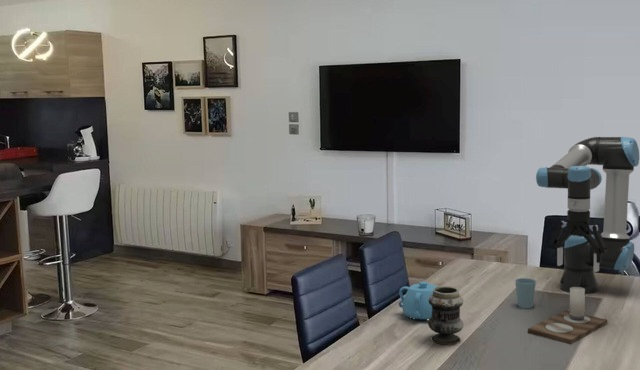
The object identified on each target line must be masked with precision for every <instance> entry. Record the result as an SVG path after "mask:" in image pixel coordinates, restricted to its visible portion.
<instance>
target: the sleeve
mask: <svg viewBox="0 0 640 370" xmlns="http://www.w3.org/2000/svg"><path fill="white" fill-rule="evenodd" d="M585 294H586V293H585V289H584V288H581V287H571V288H570V292H569V311H570V319H572V320H577V321H581V320H584V315H585V305H586V304H585V303H586V299H585Z"/></svg>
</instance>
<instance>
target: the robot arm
mask: <svg viewBox="0 0 640 370" xmlns="http://www.w3.org/2000/svg"><path fill="white" fill-rule="evenodd" d="M639 150H640V149H639V146H638V143H637V141H636V139H635V138H633V137H629V136H628V137H627V136H593V137H590V138H589V137H588V138H587V139H584V140H581V141H579V142H577V143H575V144H574V145H572V146H571V147H569V149H568V153H566V154H565V155H564V156H563V157H561V158H560V159H559V160H557V161H556V162H555V163H554V164H552V165H551V166H549V167H547V166H545V167H540V168H538V169H537V171H536V175H535V177H536V178H535V181H536V184H537V186H538V187H541V188H546V189H549V188H550V189H551V188H552V189H567V209H568V210H567V211H566V212H567V213H566V214H567V217H566V219H567V222H566V221H565V220H561V221H559V222H558V226H557V229H556V231H555V232H554V234H553V236H552V238H551V241H550V243H549V244H550V246H553V247H554V248H555V249H554V254H555V257H556V261H557V262H556V266H558V267H560V266H562V265H563V264H564V266H563V267H564V269H563V272H562V275H561V278H560V281H559V288H560V289H561V290H562V291H565V292H569V293H570V288H571V287H581V288H584V289H585V294H591V293H596V292H598V291H599V289H598V288H599V287H598V286H599V284H598V280H597V278H596V274H595V273H597V272H599V271H600V268H602V269H611V270H614V271H617V270H618V271H625V270H627V269H628V268H630V266H631V264H632V261H633V259H634V255H635V243H634V242H632V241H631V238H630V236H629V235H628V234H627V227H628V226H627V223H628V207H629V206H628V203H629V185H630V175H631V174H632V173H633V172H634V170H635V167H638V166H639V164H640V151H639ZM587 165H594V166H596V165H597V166H602V171H603V172H604V173H605V175H606V176H605V193H604V211H603V212H604V213H603V214H604V215H603V231H602V232H600V226H599V224H595V225H593V224H592V225H591V224H590V223H591V222H590V221H591V211H590V210H591V190H594V189H596V188H598V186H599V185H601V183H602V181H603V179H602V178H603V177H602V174H601V173H600V171H599V170H598V169H596V168H594V167H590V166H587ZM566 227H567V231H566V232H565V234H564V235H562V233H563V231H564V230H565V228H566ZM590 230H591V231H592V233H591V232H590ZM561 235H562V237H561ZM563 244H564V246H562V245H563ZM563 262H564V263H563Z"/></svg>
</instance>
